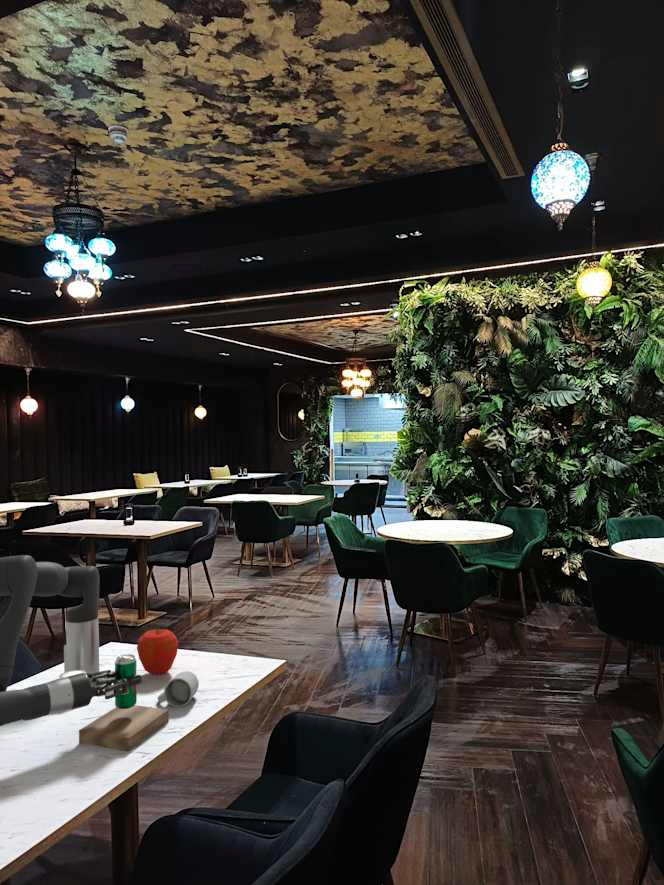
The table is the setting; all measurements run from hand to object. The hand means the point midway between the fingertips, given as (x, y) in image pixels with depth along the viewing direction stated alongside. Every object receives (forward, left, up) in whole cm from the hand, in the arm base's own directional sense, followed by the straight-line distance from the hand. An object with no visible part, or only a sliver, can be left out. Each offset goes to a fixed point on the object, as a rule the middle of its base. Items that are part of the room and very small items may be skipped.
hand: (135, 676), depth 158 cm
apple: (-15, +32, -12) cm, 37 cm away
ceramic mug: (+2, +15, -13) cm, 20 cm away
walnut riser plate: (0, -4, -12) cm, 13 cm away
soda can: (-1, -2, -7) cm, 7 cm away
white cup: (-27, +9, -12) cm, 31 cm away
